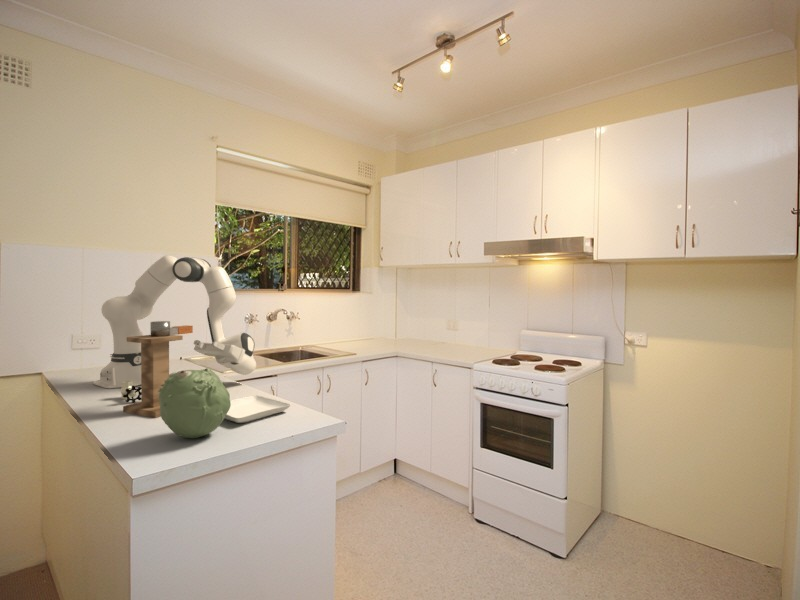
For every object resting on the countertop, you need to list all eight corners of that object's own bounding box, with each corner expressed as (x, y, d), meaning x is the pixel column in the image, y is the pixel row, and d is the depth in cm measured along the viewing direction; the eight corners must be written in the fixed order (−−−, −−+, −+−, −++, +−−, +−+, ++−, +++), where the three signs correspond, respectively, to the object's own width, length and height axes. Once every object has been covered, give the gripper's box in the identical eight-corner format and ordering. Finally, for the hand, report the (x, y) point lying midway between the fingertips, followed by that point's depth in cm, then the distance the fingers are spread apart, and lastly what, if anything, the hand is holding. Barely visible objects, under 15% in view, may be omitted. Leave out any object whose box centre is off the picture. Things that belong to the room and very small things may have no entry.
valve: (115, 398, 158) (123, 405, 149) (115, 381, 157) (123, 387, 149) (135, 395, 162) (144, 401, 154) (135, 379, 162) (143, 384, 154)
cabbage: (238, 436, 119) (238, 368, 118) (165, 453, 106) (165, 377, 106) (220, 422, 131) (220, 360, 130) (153, 436, 118) (152, 367, 118)
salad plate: (255, 402, 155) (255, 393, 155) (292, 412, 143) (292, 403, 143) (201, 416, 138) (201, 406, 138) (237, 429, 126) (237, 418, 126)
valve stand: (123, 411, 141) (122, 336, 140) (155, 403, 152) (155, 333, 151) (155, 417, 135) (155, 339, 134) (186, 408, 146) (186, 335, 145)
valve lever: (146, 336, 143) (146, 322, 143) (183, 332, 157) (183, 319, 157) (158, 337, 141) (158, 322, 141) (195, 333, 155) (195, 319, 154)
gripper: (211, 346, 179) (188, 333, 168) (248, 350, 171) (226, 336, 160) (205, 360, 176) (181, 348, 165) (242, 364, 168) (220, 351, 157)
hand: (204, 342), depth 162 cm, fingers open, 8 cm apart
